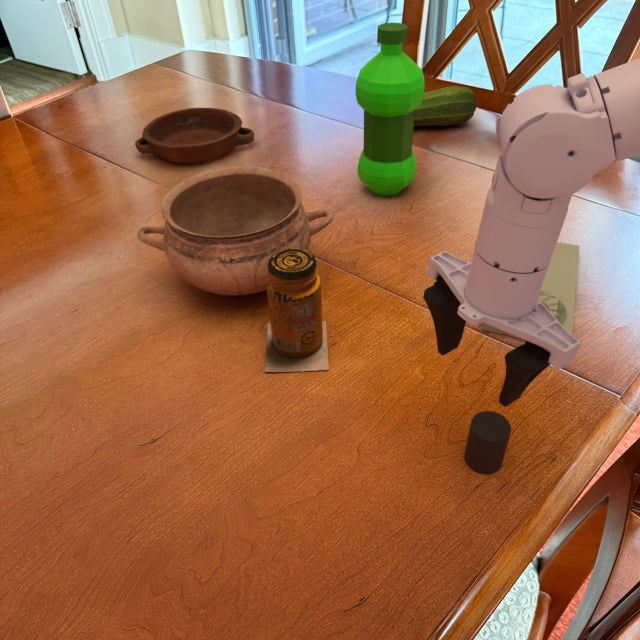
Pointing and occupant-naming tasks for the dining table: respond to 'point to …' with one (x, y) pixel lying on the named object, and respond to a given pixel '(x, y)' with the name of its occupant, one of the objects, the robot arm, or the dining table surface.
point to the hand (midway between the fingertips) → (477, 373)
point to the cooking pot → (232, 227)
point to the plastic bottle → (389, 113)
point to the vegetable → (445, 107)
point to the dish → (194, 135)
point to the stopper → (487, 442)
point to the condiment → (295, 314)
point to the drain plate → (557, 287)
